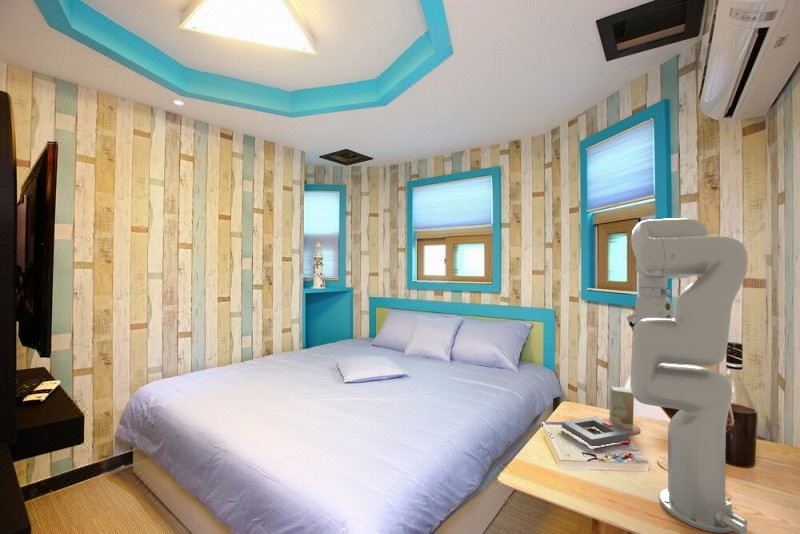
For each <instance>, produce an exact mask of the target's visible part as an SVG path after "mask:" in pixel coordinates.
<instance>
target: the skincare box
mask: <svg viewBox="0 0 800 534" xmlns="http://www.w3.org/2000/svg"><path fill="white" fill-rule="evenodd" d="M609 392H610V393H609V417H608V418H609V421H610V423H611V424H613V425H614V426H616V427H619V428H625V429H631V430H633V423H634V408H635V407H634V405H635V404H634V401H635V398H634V396H633V394H632V391H631V388H627V387H626V388H625V387H620V386H619V387H617V386H610V387H609Z"/></svg>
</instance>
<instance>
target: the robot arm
mask: <svg viewBox="0 0 800 534" xmlns="http://www.w3.org/2000/svg"><path fill="white" fill-rule="evenodd" d="M630 239H631V240H630V241H631V248H632V251H633V254H634V256H635V258H636V261H635V271H636V273H638V296H636V299H635V300H636V301H635V306H634V313H633V314H630V315H628V316H626V319H627V323H628V325H629V326H630V327H631V330H632V331H633V332H632V340H631V341H632V342H631V359H630V361H631V362H630V378H629V379H630V380H629V381H630V383H629V384H630V389H631V391H632V394H633V396H634V400H636V401H638V402H639V403H641V404H643V405H648V406H655V407H659V408H660V407H661V408H667V409H674V410H678V411H677V412H676V413H675V414H674V415H673V416H672V417H671V419H670V421H669V424H668V427H667V428H668V429H667V488H665V489H663V490H661V491H660V493H659V502H660V504H661V506H662V507H663V509H664V510H666V511H667V512H668V513H669V514H671V515H672V516H673V517H674V518H677V519H678V520H680V521H681V522H684V523H685V524H687V525H689V526H692V527H694V528H698V529H699V530H700V529H701V530H703V531H705V532H711V533H712V532H713V533H717V534H718V533H719V534H723V533H730V532H733V531H734V532H735V533H737V534H747V533H748V528H747V525H748V520H746V519H745V518H743V517H742V516H739V515H737V514H735V513H734V511H732V510H733V507H732V506H733V503H732V502H731V501H728V500H726V445H727V444H726V439H727V438H726V433H727V422H728V416H729V412H730V407H731V403H732V398H733V392H732V391H733V389H732V384H731V383H730V381H729V380H728V378H727V377H726V376H725V375H724V374H722V373H721V372H719V371H717V370H715V369H711V368H707V367H708V366H709V367H711V366H718V365H720V364H721V363H723V361H724V359H725V357H726V355H727V350H728V342H729V341H728V340H729V335H730V334H729V333H730V326H731V318H732V317H731V314H732V307H733V304H734V301H735V299H736V297H737V295H738V293H739V291H740V289H741V287H742V285H743V284H744V280H745V278H746V275H747V271H748V263H749V260H748V259H749V258H748V252H747V249H746V247H745V245H744V243H742V242H741V241H740V240H738V239H736V238H733V237H729V236H719V235H708V229H707V226H705V224H704V223H702V222H701V221H699V220H696V219H693V218H685V217H683V218H681V217H680V218H678V217H677V218H662V219H661V218H660V219H659V218H658V219H646V220H642V221H640V222H637V224H636V225H635V227H634V228H633V229H632V233H631V237H630ZM697 276H698V277H699V276H700V277H699V278H697V279H696V280H694V281H693V282H691V283H690V284H689V285H687V286H686V287H685V288H684V289H683V290H682V292H681V293H680V294H679V295H678V297H677V298H676V299H677V300H676V311H675V313H676V314H675V316H674V311H673V310H674V309H673V306H672V305H673V304H672V301H671V298H670V297H668V296H670V295H671V293H672V292H671V290H668V279H687V278H691V277H697Z"/></svg>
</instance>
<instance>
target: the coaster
mask: <svg viewBox="0 0 800 534" xmlns="http://www.w3.org/2000/svg"><path fill="white" fill-rule="evenodd" d="M602 420H604V421H607V422H609V423H610V421H609V417H606V418H602ZM618 428H619V427H618ZM620 429H622V430H624V431H626V432H628V433H629V436H630V435H632V436H633V435H638V434H640V433H641V427H640V426H639V425H637V424H636V423H634V422H633V430H631V429H625V428H620Z"/></svg>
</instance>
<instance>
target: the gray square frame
mask: <svg viewBox="0 0 800 534" xmlns="http://www.w3.org/2000/svg"><path fill="white" fill-rule="evenodd" d="M593 426H594V427H596V428H597V429H599V430H600V431H602V432H604V433H597V434H594V433H592V432H590V431H589V430H585V429H583V428H581V427H593ZM562 428H564V429H566V430H567V431H569V432H571V433H572V434H574V435H576V436H578V437H579V438H581V439H582V440H584V441H585V442H587V443H588V444H589V445H591V446H601V445H606V444H611V443H618V442H622V441H629V442H630V440H629V438H630V437H629V436H630V435H629V433H628V432H626V431H624V430H622V429H620V428H618V427H616V426H614V425H613V424H611V423H609V422H607V421H604V420H603V418H600V417H598V416H591V417H585V418H578V419H571V420H564V421H561V429H562Z"/></svg>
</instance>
